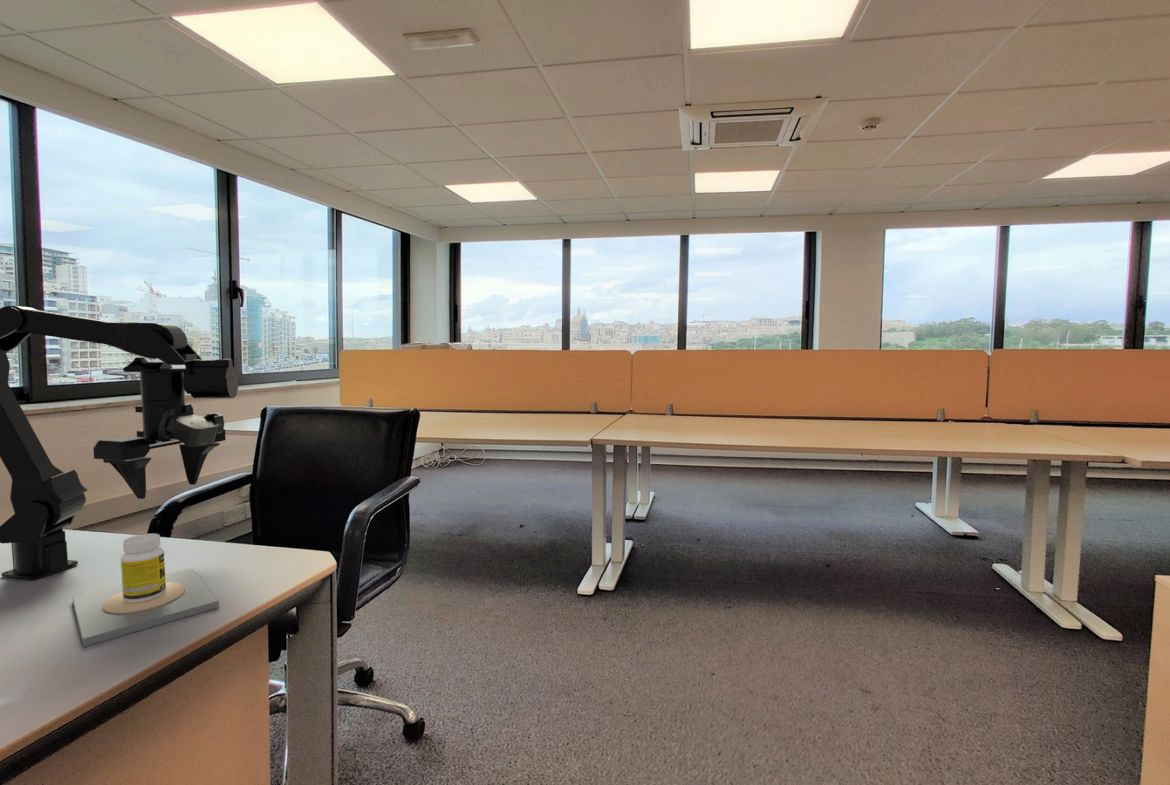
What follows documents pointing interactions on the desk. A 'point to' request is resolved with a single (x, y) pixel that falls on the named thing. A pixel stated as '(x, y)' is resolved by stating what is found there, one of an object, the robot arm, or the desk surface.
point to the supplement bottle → (142, 568)
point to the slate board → (140, 607)
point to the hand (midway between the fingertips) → (168, 491)
